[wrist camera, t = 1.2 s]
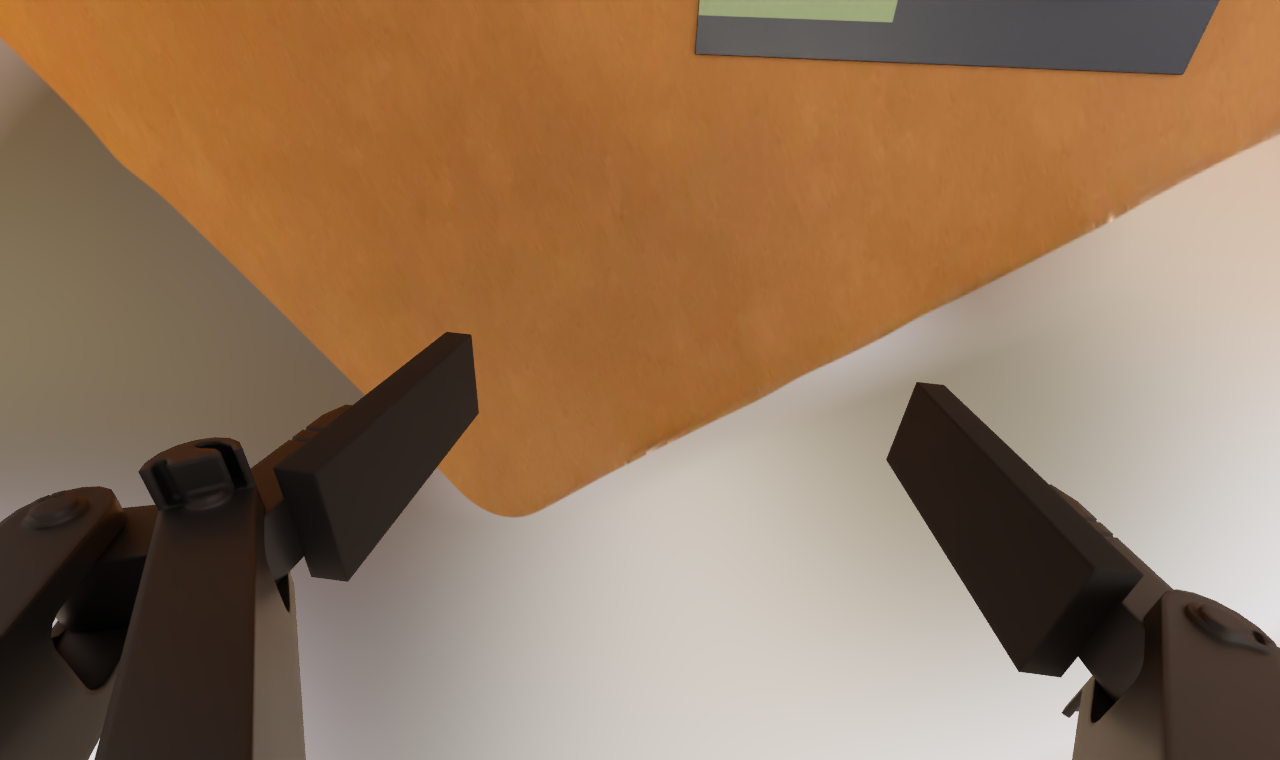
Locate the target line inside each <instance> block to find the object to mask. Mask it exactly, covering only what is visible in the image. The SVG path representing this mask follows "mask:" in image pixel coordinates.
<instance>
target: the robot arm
mask: <svg viewBox="0 0 1280 760" xmlns="http://www.w3.org/2000/svg"><path fill="white" fill-rule="evenodd" d="M478 413H479V410H478V400H477V389H476V379H475V369H474V358H473V348H472V338H471V335H470V334H460V333H451V332H446V333H445V334H443V335H442V336H441V337H439V338H438V339H437V340H436V341H434V342H433V343H432V344H430V345H429V346H428V347H427V348H425V349H424V350H423V351H422V352H420V353H419V354H418V355H416V356H415V357H414V358H413V359H411V360H410V361H409V362H407V363H406V364H405V365H404V366H402V367H401V368H400V369H399V370H397V371H396V372H395V373H393V374H392V375H391V376H390V377H388V378H387V379H386V380H384V381H383V382H382V383H381V384H379V385H378V386H377V387H375V388H374V389H373V390H372V391H370V392H369V393H368V394H367V395H365V396H364V397H363V398H361V399H360V400H359V401H358V402H356V403H355V404H354V405H344V406H342V407H340V408H337V409H335V410H333V411H330V412H328V413H326V414H324V415H322V416H321V417H319V418H318V419H317V420H315V421H314V422H313V423H311V424H310V425H309V426H307V428H306V430H302V431H301V432H299V433H298V434H297V435H296V436H294V437H293V439H292V440H288V441H287V442H286V443H284V444H283V445H282V446H280V447H279V448H278V449H276V450H275V451H274V452H272V453H271V454H270V455H268V456H267V457H266V458H264V459H263V460H262V461H260V462H259V463H258V464H256V465H255V466H254V467H252V468H251V469H250V467H249V464H248V462H247V459H246V456H245V454H244V451H243V449H242V447H241V444H240V442H238V441H236V440H233V439H230V438H207V439H200V440H195V441H191V442H187V443H184V444H181V445H177V446H175V447H172V448H170V449H168V450H166V451H163V452H161V453H159V454H157V455H156V456H154V457H153V458H151V459H150V460H148V461H147V462H146V463H145V464H144V465H143V467H142V468H141V469H140V471H139V474H140V475H141V477H142V480H143V481H144V483H145V485H146V487H147V489H148V491H149V493H150V495H151V497H152V499H153V500H154V503H155V504H156V505H149V506H139V507H129V508H122V507H121V505H120V503H119V501H118V500H117V498H116V496H115V495H114V493H113V491H112V490H111V489H108V488H104V487H100V486H99V487H81V488H77V489H72V490H67V491H61V492H57V493H54V494H52V495H50V496H49V495H48V496H45V497H42V498H40V499H38V500H36V501H35V502H33V503H31V504H28V505H26V506H24V507H22V508H20V509H18V510H17V511H15V512H14V513H12V514H11V515H10V516H8V517H7V518H5V519H4V520H3V521H1V522H0V760H88V759H89V757H90V755H91V753H92V751H93V749H94V747H95V746H96V744H97V742H98V740H99V738H100V741H99V745H98V749H97V752H96V757H95V760H306V758H305V743H304V728H303V713H302V697H301V682H300V667H299V653H298V637H297V622H296V607H295V592H294V582H293V580H292V577H291V575H290V570H291V569H292V568H293V567H294V566H295V565H296V564H297V563H298V562H299V561H300V560H301V559H302V558H303V556H304V557H305V560H306V563H307V565H308V568H309V571H310V574H311V577H317V578H325V579H332V580H340V581H349V579H350V578H351V577H352V576H353V574H354V573H355V572H356V571H357V569H358V568H359V567H360V565H361V564H362V563H363V561H364V560H365V559H366V558H367V556H368V555H369V554H370V552H371V551H372V550H373V549H374V547H375V546H376V545H377V543H378V542H379V540H381V538H382V537H383V536H384V534H385V533H386V532H387V530H388V529H389V528H390V527H391V525H392V524H393V523H394V522H395V520H396V519H397V518H398V516H399V515H400V514H401V513H402V511H403V510H404V509H405V507H406V506H407V505H408V503H409V502H410V501H411V500H412V498H413V497H414V496H415V494H416V493H417V492H418V490H419V489H420V488H421V487H422V485H423V484H424V483H425V481H426V480H427V479H428V478H429V476H430V475H431V474H432V473H433V471H434V470H435V469H436V467H437V466H438V465H439V464H440V462H441V461H442V460H443V458H444V457H445V456H446V455H447V453H448V452H449V451H450V449H451V448H452V447H453V445H454V444H455V443H456V442H457V440H458V439H459V438H460V436H461V435H462V434H463V433H464V431H465V430H466V429H467V427H468V426H469V425H470V424H471V422H472V421H473V420H474V418H475V417H476V416H477V415H478ZM886 460H887V462H888V463H889V465H890V466H891V468H892V469H893V471H894V473H895V474H896V476H897V478H898V479H899V481H900V482H901V484H902V485H903V487H904V489H905V490H906V492H907V494H908V495H909V497H910V498H911V500H912V502H913V503H914V505H915V506H916V508H917V510H918V511H919V512H920V514H921V516H922V517H923V519H924V521H925V522H926V524H927V525H928V527H929V529H930V530H931V532H932V533H933V535H934V537H935V538H936V540H937V541H938V543H939V545H940V546H941V548H942V550H943V551H944V553H945V554H946V556H947V558H948V559H949V561H950V562H951V564H952V566H953V567H954V569H955V570H956V572H957V574H958V575H959V577H960V578H961V580H962V581H963V583H964V584H965V586H966V588H967V589H968V591H969V593H970V594H971V596H972V597H973V599H974V601H975V602H976V604H977V606H978V607H979V609H980V610H981V612H982V613H983V615H984V617H985V618H986V620H987V622H988V623H989V625H990V626H991V628H992V630H993V631H994V633H995V634H996V636H997V637H998V639H999V641H1000V642H1001V644H1002V645H1003V647H1004V649H1005V650H1006V652H1007V653H1008V655H1009V657H1010V658H1011V660H1012V661H1013V663H1014V665H1015V666H1016V668H1017V669H1018V671H1019V672H1026V673H1034V674H1041V675H1048V676H1056V677H1061V676H1062V675H1063V674H1064V672H1066V670H1067V669H1068V668H1069V667H1070V665H1071V664H1072V663H1073V662H1074V660H1075V659H1076V658H1077V657H1079V658H1080V659H1081V661H1082V662H1083V663H1084V665H1085V666H1086V667H1087V669H1088V670H1089V671H1090V672H1091V674H1092V675H1093V676H1092V677H1091V678H1090V679H1089V681H1088V682H1087V683H1086V684H1085V685H1084V686H1083V687H1082V688H1081V690H1080V691H1079V692H1078V693H1077V694H1076V695H1075V697H1074V698H1073V699H1072V700H1071V701H1070V702H1069V704H1068V705H1067V706H1066V707H1065V709H1064V710H1063V712H1062V713H1063V714H1064V715H1066V716H1067V717H1070V716H1071V715H1072V714H1073V713H1074V712H1075V711H1079V717H1078V724H1077V730H1076V737H1075V744H1074V752H1073V759H1072V760H1280V648H1279V647H1277V646H1276V644H1275V643H1274V641H1272V640H1271V639H1270V638H1269V637H1268V636H1267V635H1266V634H1265V633H1264V632H1263V631H1262V630H1261V629H1260V628H1258V627H1257V626H1256V625H1254V624H1253V623H1251V622H1250V621H1248V620H1247V619H1246V618H1244V617H1243V616H1241V615H1240V614H1238V613H1237V612H1235V611H1233V610H1231V609H1229V608H1227V607H1226V606H1224V605H1222V604H1220V603H1218V602H1216V601H1214V600H1211V599H1209V598H1206V597H1203V596H1201V595H1198V594H1195V593H1191V592H1187V591H1181V590H1173V589H1172V588H1171V587H1170V586H1169V585H1168V584H1167V583H1165V582H1164V581H1163V580H1162V579H1161V578H1160V577H1159V576H1158V575H1157V574H1155V572H1154V571H1152V570H1151V569H1150V568H1149V567H1148V566H1147V565H1146V564H1145V563H1144V562H1143V561H1142V560H1141V559H1139V558H1138V557H1137V556H1136V555H1135V554H1134V553H1133V552H1132V551H1131V550H1130V549H1129V548H1127V547H1126V546H1125V545H1124V544H1123V543H1122V542H1121V541H1120V540H1119V539H1118V538H1114V537H1113V534H1112V533H1111V532H1110V531H1109V530H1108V529H1107V528H1106V527H1105V526H1103V524H1101V523H1099V522H1097V521H1096V520H1097V519H1096V518H1095V517H1094V516H1093V515H1092V514H1091V513H1090V512H1088V511H1087V510H1086V509H1085V508H1084V507H1083V506H1082V505H1081V504H1080V503H1079V502H1078V501H1076V500H1074V499H1073V498H1071V497H1070V496H1068V495H1067V494H1065V493H1064V492H1062V491H1060V490H1059V489H1057V488H1056V487H1054V486H1052V485H1049V484H1048V483H1047V482H1046V481H1045V480H1043V479H1042V478H1041V477H1040V476H1039V475H1038V474H1037V473H1036V472H1035V471H1034V470H1033V469H1031V467H1030V466H1028V464H1027V463H1026V462H1025V461H1023V460H1022V459H1021V458H1020V457H1019V456H1018V455H1017V454H1016V453H1015V452H1014V451H1013V450H1012V449H1011V448H1010V447H1009V446H1008V445H1007V444H1005V443H1004V442H1003V441H1002V440H1001V439H1000V438H999V437H998V436H997V435H996V434H995V433H994V432H993V431H992V430H991V429H990V428H988V426H987V425H985V424H984V423H983V422H982V421H981V420H980V419H979V418H978V417H977V416H976V415H975V414H974V413H973V412H972V411H971V410H970V409H969V408H968V407H966V406H965V405H964V404H963V403H962V402H961V401H960V400H959V399H958V398H957V397H956V396H955V395H954V394H953V393H952V392H951V391H949V389H948V388H946V387H945V386H944V385H938V384H929V383H920V382H917V383H916V385H915V388H914V390H913V393H912V395H911V398H910V400H909V403H908V406H907V408H906V411H905V413H904V416H903V418H902V421H901V424H900V426H899V429H898V431H897V434H896V436H895V439H894V441H893V444H892V447H891V449H890V452H889V454H888V457H887V459H886ZM55 618H57V620H58V621H57V623H56V624H55V625H54V627H53V628H52V623H53V621H54V620H55Z"/></svg>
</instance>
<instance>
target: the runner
mask: <svg viewBox="0 0 1280 760" xmlns="http://www.w3.org/2000/svg"><path fill="white" fill-rule="evenodd" d="M1218 2H1219V0H700V1H699V13H698V25H697V37H696V49H695V54H703V55H727V56H750V57H774V58H798V59H822V60H845V61H869V62H893V63H916V64H940V65H964V66H988V67H1011V68H1035V69H1059V70H1083V71H1106V72H1130V73H1154V74H1177V75H1181V74H1184V72H1185V70H1186V68H1187V66H1188V64H1189V62H1190V60H1191V58H1192V55H1193V53H1194V51H1195V49H1196V47H1197V45H1198V43H1199V41H1200V39H1201V37H1202V35H1203V33H1204V31H1205V29H1206V27H1207V25H1208V23H1209V21H1210V19H1211V17H1212V14H1213V12H1214V10H1215V8H1216V6H1217V4H1218Z"/></svg>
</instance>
